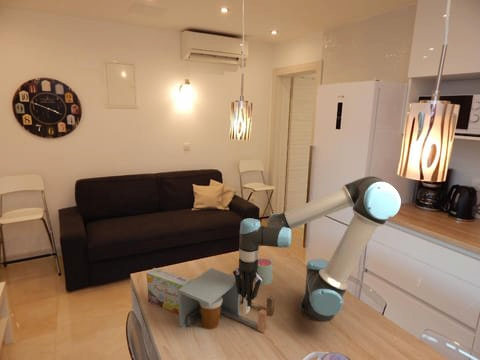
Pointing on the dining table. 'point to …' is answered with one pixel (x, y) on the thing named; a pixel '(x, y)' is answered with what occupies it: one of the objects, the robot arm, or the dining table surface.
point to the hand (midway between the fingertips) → (246, 311)
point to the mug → (265, 270)
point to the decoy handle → (269, 307)
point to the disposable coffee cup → (211, 313)
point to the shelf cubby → (208, 293)
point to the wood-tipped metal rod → (260, 325)
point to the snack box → (165, 289)
